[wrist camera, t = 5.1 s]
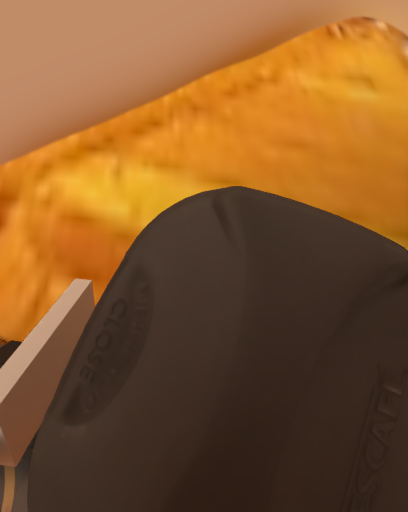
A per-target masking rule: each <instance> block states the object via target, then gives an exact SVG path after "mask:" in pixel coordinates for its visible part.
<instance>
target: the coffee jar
mask: <svg viewBox="0 0 408 512" xmlns="http://www.w3.org/2000/svg"><path fill="white" fill-rule="evenodd" d="M27 509H28V512H408V250H407V249H405V248H404V247H402V246H401V245H399V244H397V243H395V242H394V241H392V240H390V239H388V238H386V237H384V236H382V235H380V234H378V233H376V232H374V231H372V230H369V229H367V228H365V227H363V226H361V225H358V224H356V223H354V222H351V221H349V220H346V219H344V218H342V217H339V216H337V215H335V214H332V213H329V212H327V211H324V210H321V209H318V208H315V207H312V206H310V205H307V204H304V203H301V202H298V201H295V200H292V199H288V198H285V197H282V196H279V195H275V194H271V193H267V192H263V191H259V190H255V189H251V188H247V187H242V186H231V187H227V188H221V189H216V190H210V191H205V192H201V193H198V194H196V195H193V196H190V197H188V198H185V199H183V200H181V201H179V202H177V203H176V204H174V205H172V206H171V207H169V208H167V209H166V210H164V211H163V212H162V213H160V214H159V215H158V216H157V217H156V218H155V219H153V220H152V221H151V222H150V223H149V224H148V225H147V226H146V227H145V228H144V229H143V231H142V232H141V233H140V234H139V235H138V236H137V238H136V239H135V241H134V242H133V244H132V246H131V247H130V248H129V250H128V251H127V252H126V255H125V257H124V259H123V260H122V262H121V264H120V266H119V267H118V269H117V270H116V272H115V274H114V275H113V277H112V279H111V280H110V282H109V284H108V285H107V287H106V289H105V291H104V293H103V294H102V296H101V298H100V300H99V301H98V303H97V305H96V307H95V308H94V310H93V312H92V314H91V316H90V318H89V320H88V321H87V323H86V325H85V327H84V330H83V332H82V334H81V336H80V338H79V340H78V342H77V344H76V346H75V348H74V350H73V352H72V355H71V357H70V360H69V362H68V364H67V366H66V368H65V370H64V373H63V375H62V377H61V379H60V382H59V384H58V387H57V389H56V392H55V394H54V397H53V399H52V401H51V403H50V405H49V407H48V409H47V411H46V413H45V415H44V418H43V421H42V424H41V427H40V429H39V432H38V435H37V438H36V442H35V446H34V450H33V454H32V458H31V462H30V469H29V476H28V489H27Z"/></svg>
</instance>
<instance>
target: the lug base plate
mask: <svg viewBox="0 0 408 512" xmlns="http://www.w3.org/2000/svg"><path fill="white" fill-rule="evenodd" d="M7 343H8V342H6V341H4V340H1V339H0V348H1V347H2V346H4V345H5V344H7ZM41 424H42V423H41ZM40 427H41V425H40ZM40 427H39V428H38V430H37V432H36V434H35V435H34V437H33V439H32V440H31V442H30V444H29V446H28V447H27V449H26V451H25V453H24V454H23V456H22V458H21V459H20V461H19V463H18V465H17V466H16V467H12V466H5V465H0V512H28V509H27V489H28V476H29V469H30V462H31V458H32V454H33V450H34V446H35V442H36V438H37V435H38V432H39V429H40Z"/></svg>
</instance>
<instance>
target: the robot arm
mask: <svg viewBox="0 0 408 512" xmlns="http://www.w3.org/2000/svg"><path fill="white" fill-rule="evenodd" d="M94 308H95V303H94V295H93V287H92V280H83V279H75V280H74V281H73V282H72V283H71V284H70V286H69V287H68V288H67V289H66V291H65V292H64V293H63V294H62V295H61V297H60V298H59V299H58V300H57V301H56V303H55V304H54V305H53V306H52V307H51V309H50V310H49V311H48V312H47V313H46V315H45V316H44V317H43V318H42V319H41V321H40V322H39V323H38V324H37V325H36V327H35V328H34V329H33V330H32V331H31V333H30V334H29V335H28V336H27V337H26V339H25V340H24V341H23V342H19V341H10V342H8V343H7V344H5V345H4V346H2V347H1V348H0V465H5V466H12V467H16V466H17V465H18V463H19V461H20V459H21V458H22V456H23V454H24V453H25V451H26V449H27V447H28V446H29V444H30V442H31V440H32V439H33V437H34V435H35V434H36V432H37V430H38V428H39V427H40V425H41V423H42V421H43V418H44V415H45V413H46V411H47V409H48V407H49V405H50V403H51V401H52V399H53V397H54V394H55V392H56V389H57V387H58V384H59V382H60V379H61V377H62V375H63V373H64V370H65V368H66V366H67V364H68V362H69V360H70V357H71V355H72V352H73V350H74V348H75V346H76V344H77V342H78V340H79V338H80V336H81V334H82V332H83V330H84V327H85V325H86V323H87V321H88V320H89V318H90V316H91V314H92V312H93V310H94Z"/></svg>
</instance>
